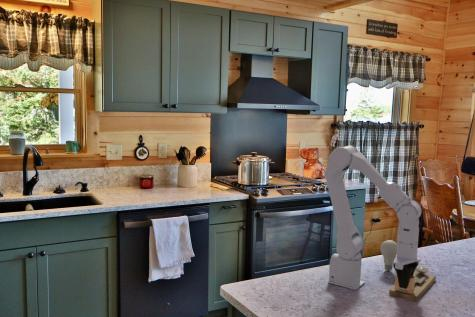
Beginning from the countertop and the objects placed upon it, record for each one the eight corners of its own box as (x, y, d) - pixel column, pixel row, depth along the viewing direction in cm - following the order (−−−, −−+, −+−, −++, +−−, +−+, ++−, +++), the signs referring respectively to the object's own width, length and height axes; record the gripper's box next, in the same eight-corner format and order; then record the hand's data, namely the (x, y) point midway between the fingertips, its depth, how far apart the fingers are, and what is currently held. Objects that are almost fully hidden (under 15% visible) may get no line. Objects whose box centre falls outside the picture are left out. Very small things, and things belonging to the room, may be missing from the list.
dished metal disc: (413, 274, 148) (413, 268, 148) (416, 271, 152) (417, 265, 151) (425, 277, 146) (426, 271, 146) (429, 274, 149) (429, 268, 149)
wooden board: (388, 294, 136) (389, 289, 136) (410, 274, 153) (410, 270, 153) (416, 301, 131) (416, 296, 131) (435, 280, 148) (435, 275, 148)
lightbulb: (401, 273, 154) (403, 242, 153) (387, 275, 152) (389, 243, 151) (389, 267, 160) (391, 237, 159) (375, 269, 157) (377, 238, 156)
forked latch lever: (394, 290, 135) (395, 274, 134) (409, 275, 147) (410, 261, 146) (411, 294, 132) (412, 278, 131) (425, 279, 144) (426, 264, 143)
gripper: (414, 250, 125) (411, 297, 126) (428, 239, 136) (425, 282, 138) (389, 245, 129) (386, 290, 130) (404, 235, 140) (401, 276, 142)
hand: (404, 286), depth 134 cm, fingers closed on forked latch lever, 2 cm apart
